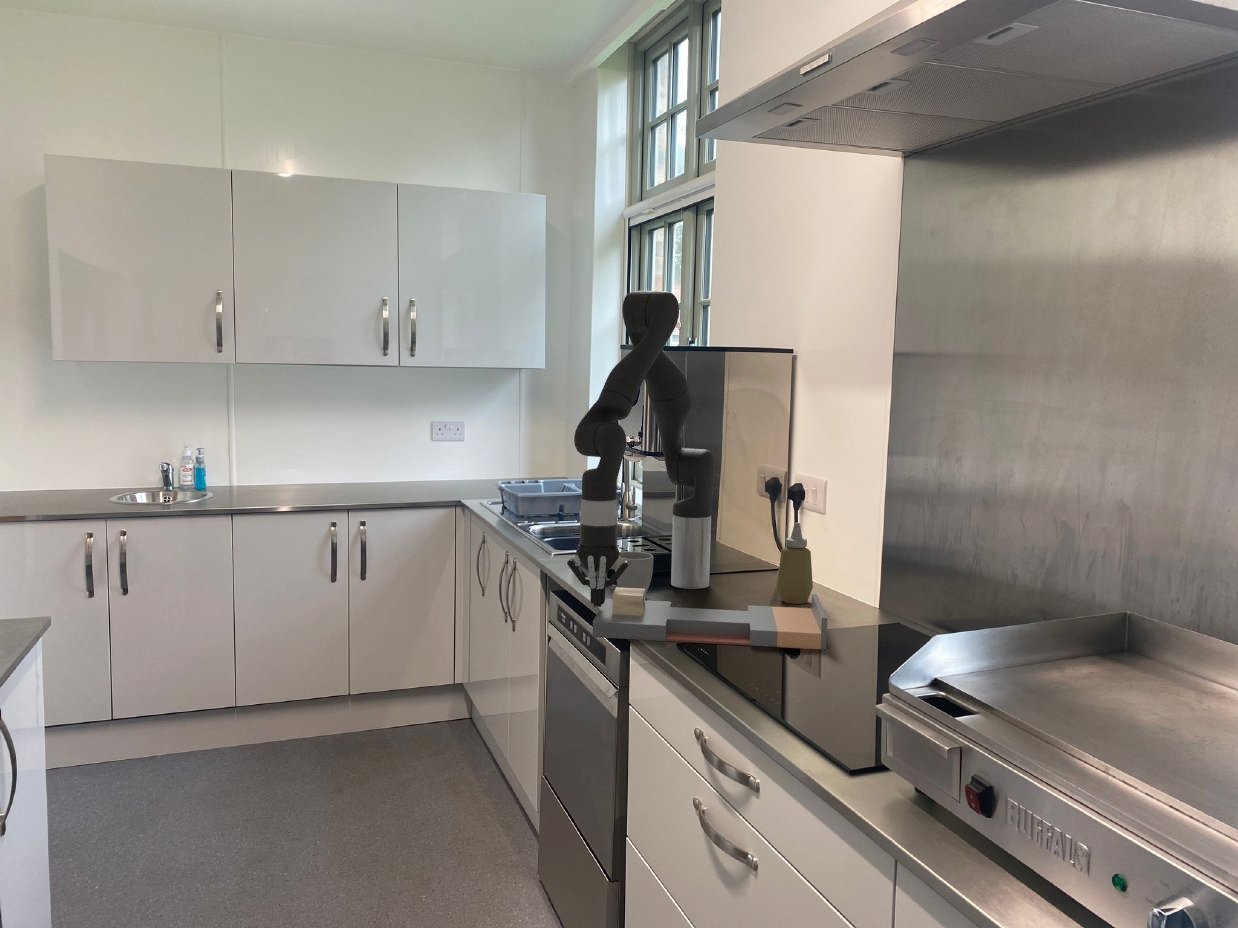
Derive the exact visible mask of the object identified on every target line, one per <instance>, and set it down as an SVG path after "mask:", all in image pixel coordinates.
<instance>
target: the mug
mask: <svg viewBox="0 0 1238 928" xmlns="http://www.w3.org/2000/svg"><path fill="white" fill-rule="evenodd" d="M619 553H620V555H619V556H620V557H622V558H623V559H624V560H628V561H629V565H628V567H627V569H626V570H625V571H624V572H623V573H622V574H621V576H620V577H619V578H618V579H617V580H616V584H613V585H612V586H609V587H608V588H610V589H613V590H615V589H616V587H619V588H641V589H645V595H646V594H647V591H648V590H649V587H650V585H651V581H652V576H653V570H654V555H653V554H651V553H648V552H646V551H645V552H644V551H621V552H620V551H619ZM616 565H617V560H616V562H615V563H614V564H613V565H612V567H611V568H610V569H609V570H613V571H614V573H615V572H616V570H617V569H618V568H617V567H616ZM607 579H609V578H608V576H607V577H606V580H607Z"/></svg>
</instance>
